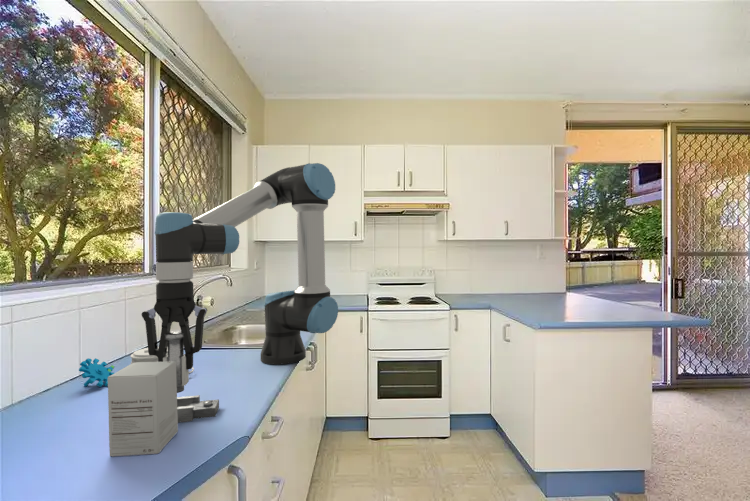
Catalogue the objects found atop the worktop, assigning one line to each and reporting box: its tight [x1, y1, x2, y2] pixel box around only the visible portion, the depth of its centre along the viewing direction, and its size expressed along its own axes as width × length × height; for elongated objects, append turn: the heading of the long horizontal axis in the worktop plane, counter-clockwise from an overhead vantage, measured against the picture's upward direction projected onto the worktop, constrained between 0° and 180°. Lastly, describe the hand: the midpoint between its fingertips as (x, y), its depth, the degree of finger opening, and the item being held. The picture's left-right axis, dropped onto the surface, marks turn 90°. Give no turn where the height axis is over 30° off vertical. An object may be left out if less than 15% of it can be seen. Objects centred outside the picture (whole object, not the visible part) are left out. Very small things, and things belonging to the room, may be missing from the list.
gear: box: [78, 358, 115, 388], centre depth 109 cm, size 11×6×10 cm
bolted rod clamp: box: [177, 394, 220, 424], centre depth 88 cm, size 17×7×3 cm, turn 103°
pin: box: [164, 330, 185, 394], centre depth 88 cm, size 5×5×13 cm
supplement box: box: [107, 361, 179, 457], centre depth 76 cm, size 9×9×15 cm
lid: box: [130, 345, 168, 364], centre depth 130 cm, size 13×13×5 cm
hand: (176, 384), depth 88 cm, fingers closed on pin, 3 cm apart
